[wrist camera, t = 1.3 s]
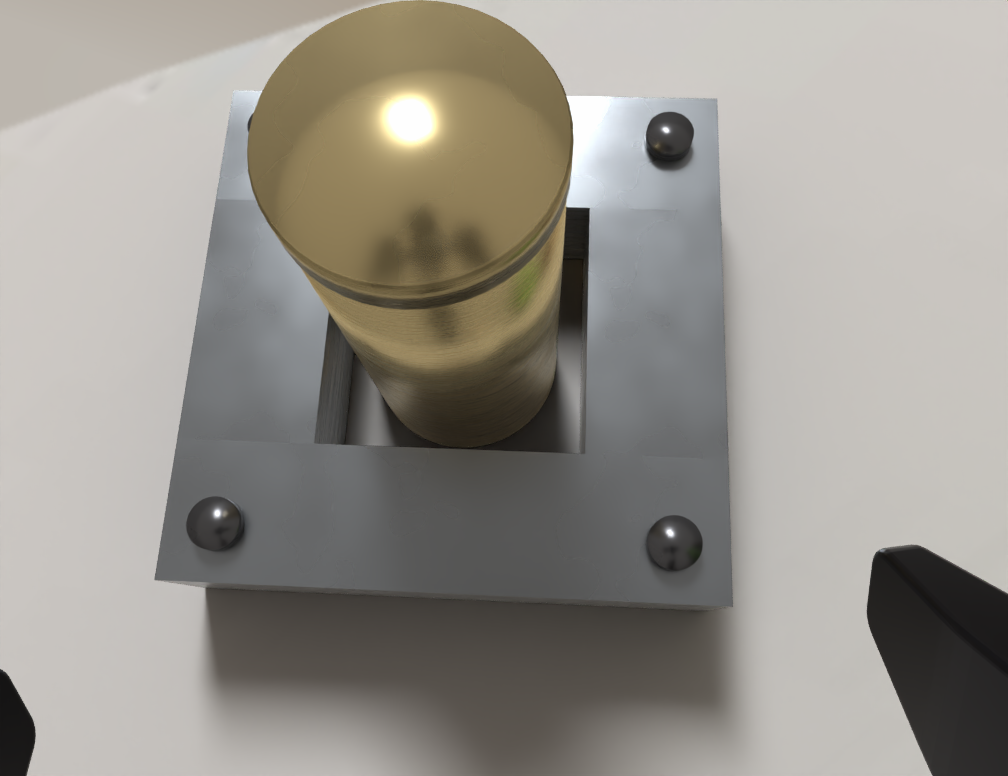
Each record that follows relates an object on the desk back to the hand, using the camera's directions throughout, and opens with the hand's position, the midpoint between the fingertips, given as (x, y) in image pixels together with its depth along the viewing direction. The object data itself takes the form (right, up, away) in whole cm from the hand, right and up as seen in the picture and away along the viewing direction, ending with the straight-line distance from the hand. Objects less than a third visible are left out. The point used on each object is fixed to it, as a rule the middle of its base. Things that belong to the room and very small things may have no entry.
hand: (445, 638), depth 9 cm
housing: (0, +3, +15) cm, 15 cm away
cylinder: (0, +3, +15) cm, 15 cm away
